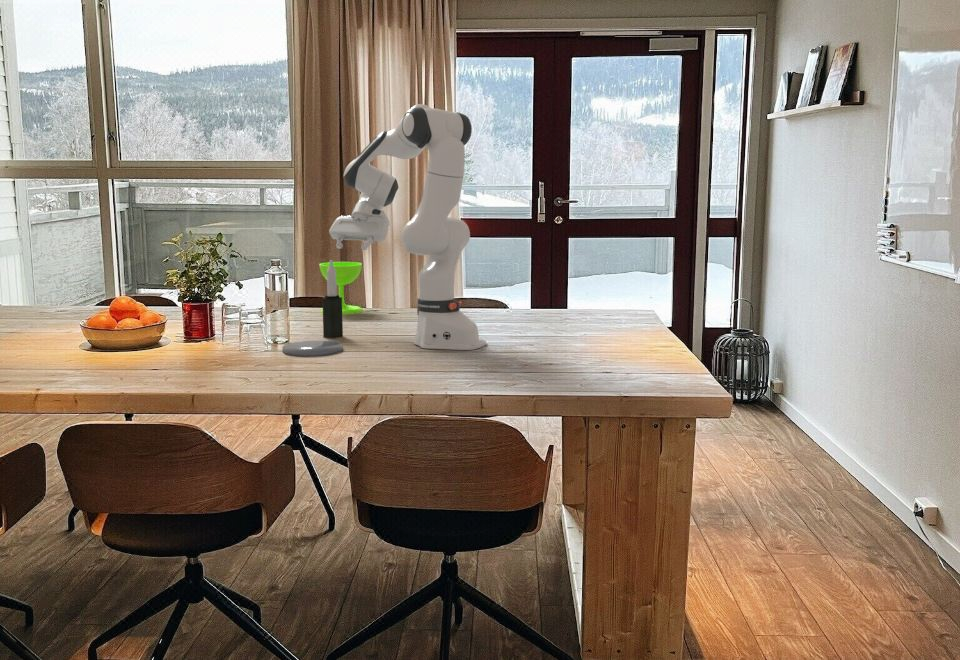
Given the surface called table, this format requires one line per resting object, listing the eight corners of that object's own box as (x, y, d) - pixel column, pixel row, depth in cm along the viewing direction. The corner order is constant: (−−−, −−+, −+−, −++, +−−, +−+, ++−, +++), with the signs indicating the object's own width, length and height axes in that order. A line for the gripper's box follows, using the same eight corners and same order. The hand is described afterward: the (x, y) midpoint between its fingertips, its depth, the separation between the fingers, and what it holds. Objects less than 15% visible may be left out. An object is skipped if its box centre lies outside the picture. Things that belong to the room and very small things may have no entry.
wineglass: (355, 315, 344) (354, 266, 341) (314, 313, 346) (313, 265, 343) (367, 308, 359) (366, 262, 356) (328, 307, 362) (326, 261, 359)
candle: (332, 338, 298) (330, 261, 293) (321, 336, 301) (319, 259, 296) (344, 336, 302) (342, 259, 297) (333, 334, 305) (331, 258, 300)
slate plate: (354, 347, 284) (353, 343, 284) (323, 358, 267) (323, 354, 267) (303, 342, 290) (303, 339, 290) (270, 353, 274) (270, 349, 274)
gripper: (334, 209, 316) (320, 240, 309) (388, 211, 309) (374, 243, 302) (341, 222, 321) (327, 252, 314) (394, 224, 314) (381, 255, 307)
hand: (350, 248), depth 308 cm, fingers open, 8 cm apart
